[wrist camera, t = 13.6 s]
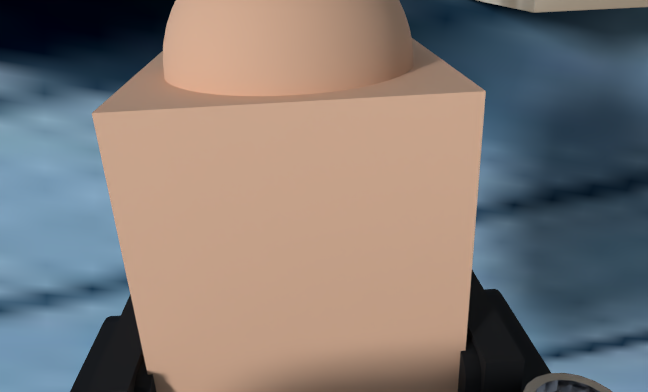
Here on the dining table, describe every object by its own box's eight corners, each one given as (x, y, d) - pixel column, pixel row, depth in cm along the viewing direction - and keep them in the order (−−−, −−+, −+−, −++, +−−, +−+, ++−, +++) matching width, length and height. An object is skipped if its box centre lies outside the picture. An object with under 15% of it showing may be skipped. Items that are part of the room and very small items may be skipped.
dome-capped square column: (145, -62, 9) (53, -65, 5) (414, -73, 9) (499, -85, 5) (235, 525, 14) (220, 713, 11) (401, 510, 14) (439, 691, 11)
